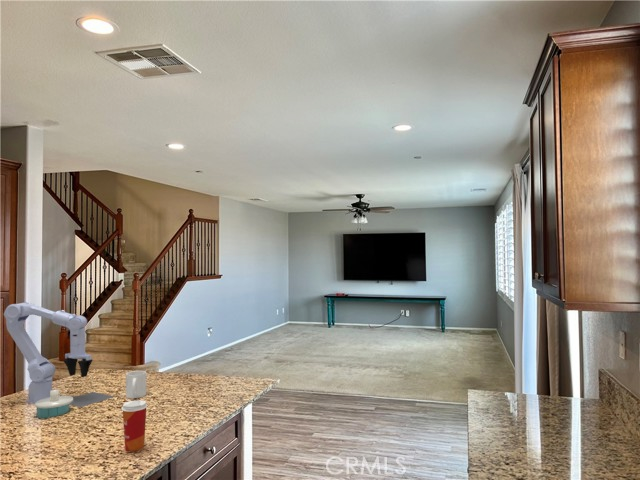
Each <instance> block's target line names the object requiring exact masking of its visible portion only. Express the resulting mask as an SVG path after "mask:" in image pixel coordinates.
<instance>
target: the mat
mask: <svg viewBox="0 0 640 480" xmlns="http://www.w3.org/2000/svg"><path fill="white" fill-rule="evenodd" d="M72 397H73V402H71V403H70V404H69V406H74V407H78V408H84V407H87V406H90V405H94V404H97V403H100V402H102V401H106V400H109V399H113V398H116V396H114V395H109V394H105V393H101V392H97V391H92V392H91V391H90V392H87V393H85V394H81V395H76V396H72Z"/></svg>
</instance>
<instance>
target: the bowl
mask: <svg viewBox="0 0 640 480" xmlns="http://www.w3.org/2000/svg"><path fill="white" fill-rule="evenodd" d="M69 412H70V405H69V404H67V405H64V406H60V407H55V408H36V418H38V419H42V420H43V419H46V420H47V419H48V418H52V417H53V418H55V417H58V416H62V415H65V414H67V413H69Z"/></svg>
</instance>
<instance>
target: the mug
mask: <svg viewBox="0 0 640 480" xmlns="http://www.w3.org/2000/svg"><path fill="white" fill-rule="evenodd" d="M125 375H126V376H125V396H126V397H125V398H127V399H138V398H143V397H146V395H147V371H145V370H133V371H130V372H127V373H126V374H125Z"/></svg>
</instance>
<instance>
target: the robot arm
mask: <svg viewBox="0 0 640 480" xmlns="http://www.w3.org/2000/svg"><path fill="white" fill-rule="evenodd" d="M32 315H33V316H37V317H40V318H41V317H42V318H45V319H48V320H51V322H52V323H53V324H55V325H58V326H62V327H64V328H67V329H68V330H69V332H70V333H69V338H70V343H69V345H70V347H69V349H70V350H69V351H70V352H68V353H65V354H64V360H63V363H64V364H65V366H66V368H67V371H68V375H69V376H70V377H71V376H75V375H76V373H77V372H76V371H77V364H78V365H79V368H80V376H81V378H85V377H87V376H88V373H89V370H90V367H91V364H92V362H93V359H92V354H88V353H86V326H87V325H88V319H87V318H86V317H85V316H83V315H76V314H75V313H69V312H66V310H63V309H61V310H57V311H54V310H50V309H47V308H45V307H42V306H39V305H36V304H35V303H29V302H24V301H23V302H21V303H12V304H8V306H6V308H5V310H4V313H3V317H4V318H5V324H6V330H7V332H8V334H9V335H10V336H11V338H12V339H13V340H12V341H14V342H15V344H16V346H17V347H18V349H19V350H20V352H21V354H22V355H23V357H24V359H25V360H26V362H27V363H28V366H27V371H28V373H29V379H30V380H31V382H30V383H29V385H28V391H27V393H28V398H27V400H26V401H25V402H26V403H27V402H28V403H30V404H34V405H35V403H36V402H37V401H39V400H41V399H44V398H48V397H50V391H51V390H53V375H55V372H56V366H55V364H53V363H52V362H50V361H49V360H48V358H46V357H44V356H42V354H41V352H40V351H39V350H38V348H37V346H36V344H35V343H34V342H33V340H32V338H31V337H30V335H29V334H28V332H27V330H26V329H25V327H24V324H25V322H26V320H27V319H28V318H29V317H30V316H32Z"/></svg>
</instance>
